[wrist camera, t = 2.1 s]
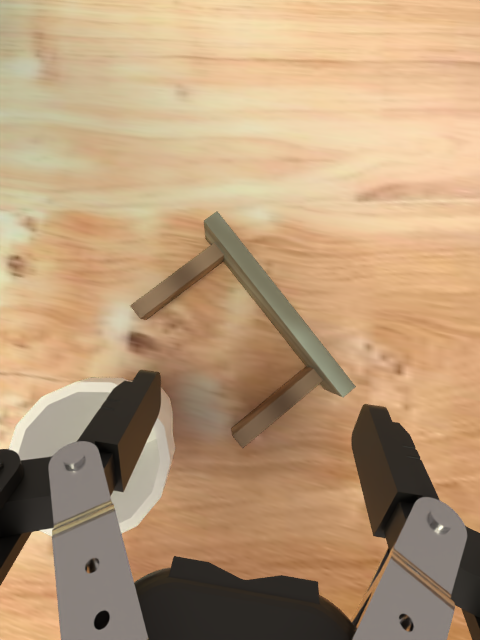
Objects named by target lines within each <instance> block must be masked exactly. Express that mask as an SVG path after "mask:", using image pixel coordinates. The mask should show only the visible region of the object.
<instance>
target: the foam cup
mask: <svg viewBox="0 0 480 640" xmlns="http://www.w3.org/2000/svg"><path fill="white" fill-rule="evenodd" d="M123 381H128V380H126V379H124V378H99V377H91V378H87V379H84V380H80V381H77V382H74V383H72V384H70V385H67V386H65V387H63V388H61V389H58V390H56V391H54V392H51V393H49V394H47V395H44V396H42V397H41V398H40V399H39V400H38V401H37V403H36V404H35V405H34V406H33V407H32V408H31V409H30V410H29V411H28V412H27V414H26V415H25V416H24V417H23V418H22V419H21V420H20V421H19V422H18V423H17V425H16V427H15V431H14V434H13V437H12V440H11V443H10V446H9V450H13V451H15V452H16V453H17V454H18V455H19V457H20V460H28V459H36V458H44V457H50V456H53V455H54V454H55V453H56V452H57V451H58V450H59V449H61V448H62V447H64V446H66V445H68V444H70V443H73V442H76V441H77V440H78V439H79V437H80V436H81V434H82V433H83V432H84V430H85V429H86V427H87V426H88V424H89V423H90V422H91V420H92V419H93V417H94V416H95V414H96V413H97V411H98V410H99V409H100V408H101V406H102V404H103V403H104V401H105V400H106V399H107V397H108V396H109V394H110V393H111V391H112V390H113V388H115V387H116V386H118V385H119V384H121V383H122V382H123ZM131 382H132V381H131ZM174 452H175V443H174V437H173V412H172V406H171V401H170V398H169V397H168V395H167V394H166V393H165V391H164V390H163V388H162V387H161V407H160V412H159V415H158V418H157V420H156V422H155V424H154V426H153V429H152V431H151V433H150V435H149V437H148V440H147V442H146V444H145V446H144V448H143V451H142V453H141V455H140V457H139V459H138V462H137V464H136V466H135V468H134V470H133V473H132V475H131V477H130V479H129V481H128V483H127V486H126V488H125V490H124V492H118V491H113V493H112V495H111V501H112V503H113V504H114V508H115V511H116V515H117V519H118V523H119V527H120V530H121V534H122V533H124V532H126V531H128V530H130V529H132V528H134V527H136V526H138V524H139V523H140V522H141V521H142V519H143V518H144V517H145V516H146V515H147V513H148V512H149V511H150V510H151V509H152V507H153V506H154V505H155V504H156V503H157V501H158V500H159V499H160V498H161V496H162V493H163V490H164V487H165V484H166V481H167V478H168V474H169V471H170V467H171V463H172V460H173V456H174ZM53 529H54V528H51V529H45V530H39V531H41V532H43V533H45V534H47V535H50V536H52V530H53Z"/></svg>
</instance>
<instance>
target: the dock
mask: <svg viewBox="0 0 480 640" xmlns="http://www.w3.org/2000/svg"><path fill="white" fill-rule="evenodd" d="M204 227H205V237H206V240H207V241H208V242H209V244H210V245H211V246H209V247H208V248H207V249H205V250H204V251H203V252H201V253H200V254H199V255H197V256H196V257H195V258H193V259H192V260H191V261H189V262H188V263H187V264H185V265H184V266H183V267H181V268H180V269H179V270H177V271H176V272H175V273H173V274H172V275H171V276H169V277H168V278H167V279H165V280H164V281H163V282H161V283H160V284H159V285H157V286H156V287H155V288H153V289H152V290H151V291H149V292H148V293H147V294H145V295H144V296H143V297H141V298H140V299H139V300H137V301H136V302H135V303H133V304H132V305H131V307H132V309H133V310H134V311H135V313H136V314H137V315H138V316H139V318H141V319H144V320H147V319H148V318H149V317H151V316H152V315H153V314H155V313H156V312H157V311H158V310H160V309H161V308H162V307H164V306H165V305H166V304H168V303H169V302H170V301H172V300H173V299H174V298H176V297H177V296H178V295H180V294H181V293H182V292H183V291H185V290H186V289H187V288H189V287H190V286H191V285H193V284H194V283H195V282H197V281H198V280H199V279H201V278H202V277H203V276H205V275H206V274H207V273H209V272H210V271H211V270H212V269H214V268H215V267H216V266H218V265H219V264H220V263H222V262H223V261H224V263H225V264H226V265H227V266H228V268H229V269H230V270H231V271H232V273H233V274H234V275H235V277H236V278H237V279H238V280H239V282H240V283H241V284H242V285H243V287H244V288H245V289H246V291H247V292H248V293H249V294H250V296H251V297H252V298H253V299H254V301H255V302H256V303H257V304H258V306H259V307H260V308H261V310H262V311H263V312H264V313H265V315H266V316H267V317H268V318H269V320H270V321H271V322H272V323H273V325H274V326H275V327H276V329H277V330H278V331H279V332H280V334H281V335H282V336H283V337H284V339H285V340H286V341H287V342H288V344H289V345H290V346H291V348H292V349H293V350H294V351H295V353H296V354H297V355H298V356H299V358H300V359H301V360H302V362H303V363H304V364H305V365H306V367H305V368H304V369H303V370H301V371H300V372H299V373H298V374H297V375H295V376H294V377H293V378H292V379H291V380H289V381H288V382H287V383H286V384H284V385H283V386H282V387H281V388H280V389H278V390H277V391H276V392H275V393H274V394H272V395H271V396H270V397H269V398H268V399H266V400H265V401H264V402H263V403H262V404H260V405H259V406H258V407H257V408H256V409H254V410H253V411H252V412H251V413H249V414H248V415H247V416H246V417H245V418H243V419H242V420H241V421H240V422H239V423H237V424H236V425H235V426H234V427H233V428H231V430H232V436H233V437H234V438H235V440H236V441H237V442H238V443H239V445H240V446H241V447H242V448H244V447H245V446H246V445H247V444H248V443H250V442H251V441H252V440H253V439H254V438H256V437H257V436H258V435H259V434H260V433H262V432H263V431H264V430H265V429H266V428H267V427H269V426H270V425H271V424H272V423H273V422H275V421H276V420H277V419H278V418H279V417H281V416H282V415H283V414H284V413H285V412H287V411H288V410H289V409H290V408H291V407H293V406H294V405H295V404H296V403H297V402H298V401H300V400H301V399H302V398H303V397H304V396H306V395H307V394H308V393H309V392H310V391H312V390H313V389H314V388H315V387H316V386H318V385H319V384H321V386H322V387H323V388H324V389H325V390H328V391H330V392H332V393H334V394H337V395H339V396H341V397H344V396H345V395H347V394H348V393H349V392H350V391H351V390H352V389H354V388H355V387H356V386H355V385H354V384H353V383H352V381H351V380H350V379H349V377H348V376H347V375H346V374H345V372H344V371H343V370H342V369H341V367H340V366H339V365H338V364H337V362H336V361H335V360H334V358H333V357H332V356H331V355H330V353H329V352H328V351H327V350H326V348H325V347H324V346H323V345H322V343H321V342H320V341H319V339H318V338H317V337H316V336H315V334H314V333H313V332H312V331H311V329H310V328H309V327H308V326H307V324H306V323H305V322H304V320H303V319H302V318H301V317H300V315H299V314H298V313H297V312H296V310H295V309H294V308H293V307H292V305H291V304H290V303H289V301H288V300H287V299H286V298H285V296H284V295H283V294H282V293H281V291H280V290H279V289H278V288H277V286H276V285H275V284H274V282H273V281H272V280H271V279H270V277H269V276H268V275H267V274H266V272H265V271H264V270H263V269H262V267H261V266H260V265H259V263H258V262H257V261H256V260H255V258H254V257H253V256H252V255H251V253H250V252H249V251H248V250H247V248H246V247H245V246H244V244H243V243H242V242H241V241H240V239H239V238H238V237H237V236H236V234H235V233H234V232H233V231H232V229H231V228H230V227H229V225H228V224H227V223H226V222H225V220H224V219H223V218H222V217H221V215H220V214H219V213H218V212H215V213H214V214H213V215H211V216H210V217H208V218H207V219H206V220H204Z"/></svg>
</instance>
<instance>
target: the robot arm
mask: <svg viewBox="0 0 480 640" xmlns="http://www.w3.org/2000/svg"><path fill="white" fill-rule="evenodd" d="M160 407H161V377H160V373H159V372H153V371H146V370H140V371H139V372H138V373H137V375H136V377H135V378H134V380H133V381H132V382H131V381H123V382H122V383H121V384H119V385H118V386H116V387H115V388H113V390H112V391H111V393H110V394H109V396H108V397H107V399H106V400H105V401H104V403H103V404H102V406H101V408H100V409H99V410H98V411H97V413H96V414H95V416H94V417H93V419H92V420H91V422H90V423H89V424H88V426H87V427H86V429H85V430H84V432H83V433H82V434H81V436H80V437H79V439H78V440H77V441H76V442H73V443H70V444H68V445H66V446H64V447H62V448H61V449H59V450H58V451H57V452H56V453H55V454H54V455H53V456H50V457H44V458H36V459H28V460H20V457H19V455H18V454H17V453H16V452H15V451H13V450H9V449H1V450H0V585H1V584H2V582H3V580H4V579H5V577H6V575H7V573H8V572H9V570H10V568H11V567H12V565H13V563H14V562H15V560H16V558H17V556H18V555H19V553H20V551H21V550H22V548H23V546H24V544H25V543H26V541H27V539H28V538H29V536H30V534H31V533H32V532H33V531H39V530H45V529H51V528H54V529H53V530H52V543H53V554H54V566H55V577H56V588H57V599H58V611H59V622H60V633H61V640H447V636H448V633H449V629H450V625H451V621H452V617H453V613H454V609H455V605H456V606H458V607H460V608H461V609H462V611H463V614H464V617H465V620H466V623H467V626H468V628H469V631H470V634H471V637H472V640H480V533H478V532H476V531H474V530H472V529H470V528H468V527H466V526H465V525H464V523H463V521H462V520H461V518H460V517H459V516H458V514H457V513H456V512H455V511H454V510H453V509H451V508H450V507H449V506H448V505H446V504H445V503H443V502H441V501H440V500H439V498H438V496H437V493H436V491H435V489H434V487H433V485H432V482H431V480H430V478H429V476H428V474H427V471H426V469H425V467H424V465H423V463H422V461H421V460H420V456H419V454H418V452H417V450H415V445H414V443H413V441H412V439H411V437H410V435H409V433H408V432H407V431H406V430H405V429H404V428H403V427H402V426H401V425H400V423H395V422H392V420H391V417H390V415H389V412H388V410H387V408H386V407H381V406H375V405H368V404H364V405H363V407H362V409H361V411H360V414H359V417H358V419H357V422H356V425H355V427H354V430H353V433H352V450H353V454H354V458H355V462H356V467H357V471H358V475H359V479H360V483H361V487H362V491H363V495H364V499H365V503H366V508H367V512H368V516H369V520H370V524H371V528H372V532H373V536H376V537H382V538H386V540H387V544H388V549H387V550H386V552H385V554H384V556H383V558H382V560H381V562H380V564H379V566H378V568H377V570H376V572H375V574H374V576H373V578H372V580H371V582H370V585H369V587H368V589H367V591H366V593H365V595H364V597H363V599H362V601H361V603H360V604H359V606H358V608H357V610H356V612H355V614H354V615H353V617H352V619H351V621H350V619H349V618H348V617H347V616H346V615H345V614H344V613H343V612H342V611H341V610H340V609H339V608H337V607H336V606H335V605H334V604H333V603H331V602H330V601H328V600H327V599H325V598H324V597H322V596H320V595H319V590H318V582H316V581H311V580H305V579H299V578H294V577H288V576H282V575H281V576H274V577H266V578H259V579H252V580H243V579H240V578H238V577H236V576H234V575H232V574H230V573H228V572H227V571H225V570H223V569H221V568H219V567H217V566H215V565H213V564H211V563H209V562H204V561H198V560H193V559H187V558H181V557H176V556H174V558H173V562H172V566H171V568H165V569H161V570H158V571H155V572H152V573H150V574H148V575H146V576H144V577H142V578H141V579H139V580H137V581H136V582H135V583H134V581H133V577H132V573H131V569H130V565H129V562H128V558H127V554H126V550H125V546H124V542H123V538H122V534H121V530H120V527H119V523H118V519H117V515H116V511H115V508H114V504H113V503H112V501H111V495H112V493H113V491H118V492H124V490H125V488H126V486H127V483H128V481H129V479H130V477H131V475H132V473H133V470H134V468H135V466H136V464H137V462H138V459H139V457H140V455H141V453H142V451H143V448H144V446H145V444H146V442H147V440H148V437H149V435H150V433H151V431H152V429H153V426H154V424H155V422H156V420H157V418H158V415H159V412H160Z"/></svg>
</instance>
